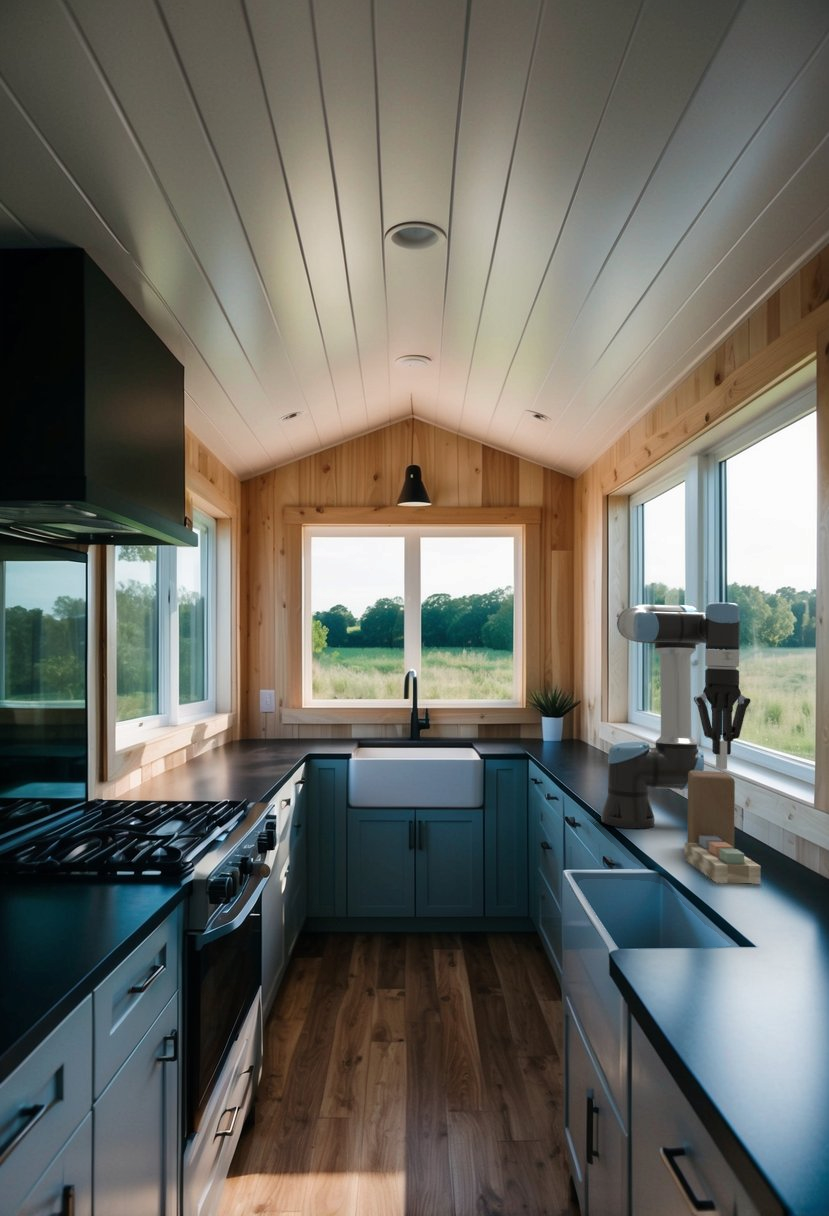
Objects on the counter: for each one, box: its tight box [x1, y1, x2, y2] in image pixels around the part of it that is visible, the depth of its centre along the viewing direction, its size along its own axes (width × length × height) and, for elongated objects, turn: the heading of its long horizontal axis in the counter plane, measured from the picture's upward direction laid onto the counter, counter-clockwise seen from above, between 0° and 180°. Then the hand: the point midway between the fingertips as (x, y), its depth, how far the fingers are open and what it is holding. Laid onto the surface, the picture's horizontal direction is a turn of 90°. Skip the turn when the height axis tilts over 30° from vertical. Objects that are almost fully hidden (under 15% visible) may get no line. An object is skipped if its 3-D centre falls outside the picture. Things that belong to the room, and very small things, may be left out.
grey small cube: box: [699, 836, 722, 849], centre depth 189 cm, size 4×4×4 cm
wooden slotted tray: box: [684, 842, 762, 885], centre depth 183 cm, size 19×10×4 cm, turn 1°
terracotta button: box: [709, 842, 733, 856], centre depth 183 cm, size 4×4×4 cm
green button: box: [719, 848, 745, 864], centre depth 177 cm, size 4×4×4 cm
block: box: [686, 770, 736, 849], centre depth 199 cm, size 10×10×20 cm
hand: (721, 768), depth 184 cm, fingers closed
